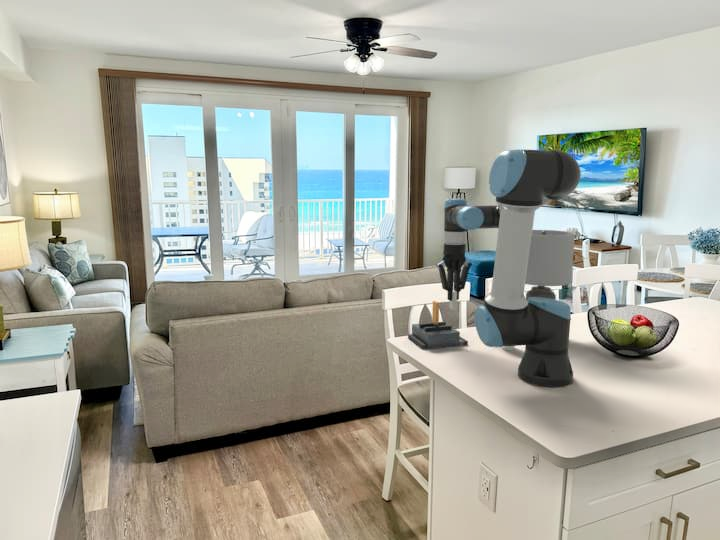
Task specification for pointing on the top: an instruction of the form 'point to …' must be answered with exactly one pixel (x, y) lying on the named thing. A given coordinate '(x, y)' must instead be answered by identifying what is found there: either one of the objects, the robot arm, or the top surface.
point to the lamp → (549, 262)
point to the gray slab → (463, 342)
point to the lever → (435, 314)
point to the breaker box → (436, 335)
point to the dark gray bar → (417, 341)
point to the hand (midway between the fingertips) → (452, 309)
